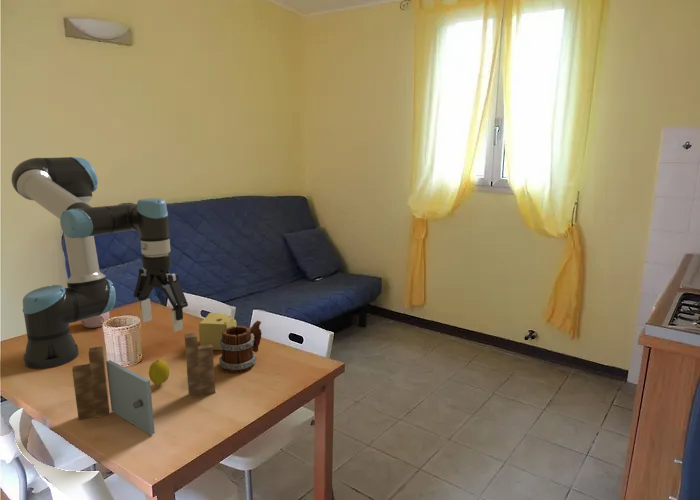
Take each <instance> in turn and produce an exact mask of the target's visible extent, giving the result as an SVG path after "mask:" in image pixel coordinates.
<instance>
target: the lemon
mask: <svg viewBox="0 0 700 500" xmlns="http://www.w3.org/2000/svg"><path fill="white" fill-rule="evenodd" d="M149 366H150V367H149V370H148V377H149V380H150V382H151V383H153V384H156V385H159V386H162V385H163V384H164V383H165V382H167V380H168V379H169V377H170V367H169V365H168V363H167V362H166V361H164V360H163V359H160V358H159V359H156V360H155V361H153V362H152V363H151V364H150V365H149Z"/></svg>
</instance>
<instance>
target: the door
mask: <svg viewBox="0 0 700 500" xmlns="http://www.w3.org/2000/svg"><path fill="white" fill-rule="evenodd" d="M105 363H106V365H105V366H106V372H107V373H106V374H107V380H108V381H107V382H108V383H107V384H108V389H109V390H108V393H109V398H110V399H109V402H110V409H111V412H113V413H114V414H116V415H117V416H119V417H121V418H123V419H124V420H126V421H127V422H129V423H130V424H132V425H134V426H135V427H137V428H138V429H140V430H142V431H144V432H146V433H147V434H148V435H150V436H152V435H154V434H155V433H156V432H155V431H156V430H155V422H154V419H155V418H154V411H153V400H152V398H153V397H152V389H151V387H152V386H151V379H148V378H146V377H144V376H142V375H140V374H138V373H136V372H134V371H132V370H130V369H128V368H126V367H124V366H122V365H120V364H118V363H116V362H115V361H112V360H111V359H110V360H107V361H105Z"/></svg>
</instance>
